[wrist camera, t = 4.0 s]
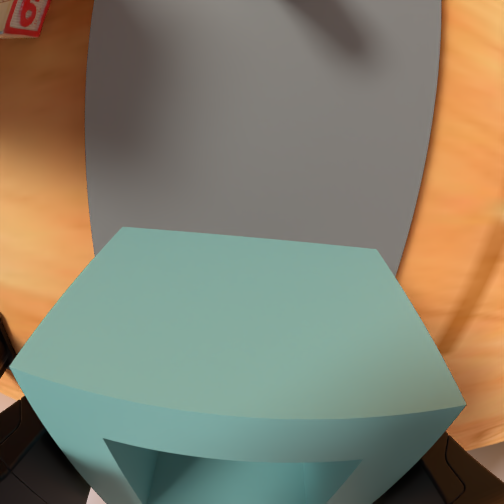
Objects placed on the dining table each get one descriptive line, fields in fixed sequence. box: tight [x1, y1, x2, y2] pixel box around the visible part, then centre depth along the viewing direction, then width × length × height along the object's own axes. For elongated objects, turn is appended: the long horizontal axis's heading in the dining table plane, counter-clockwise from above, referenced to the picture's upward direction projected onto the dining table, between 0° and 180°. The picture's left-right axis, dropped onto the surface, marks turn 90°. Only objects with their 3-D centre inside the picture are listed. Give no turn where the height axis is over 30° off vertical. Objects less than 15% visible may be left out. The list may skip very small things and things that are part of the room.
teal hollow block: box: [9, 227, 467, 504], centre depth 7 cm, size 6×6×5 cm
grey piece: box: [85, 0, 441, 276], centre depth 9 cm, size 24×14×6 cm, turn 175°
